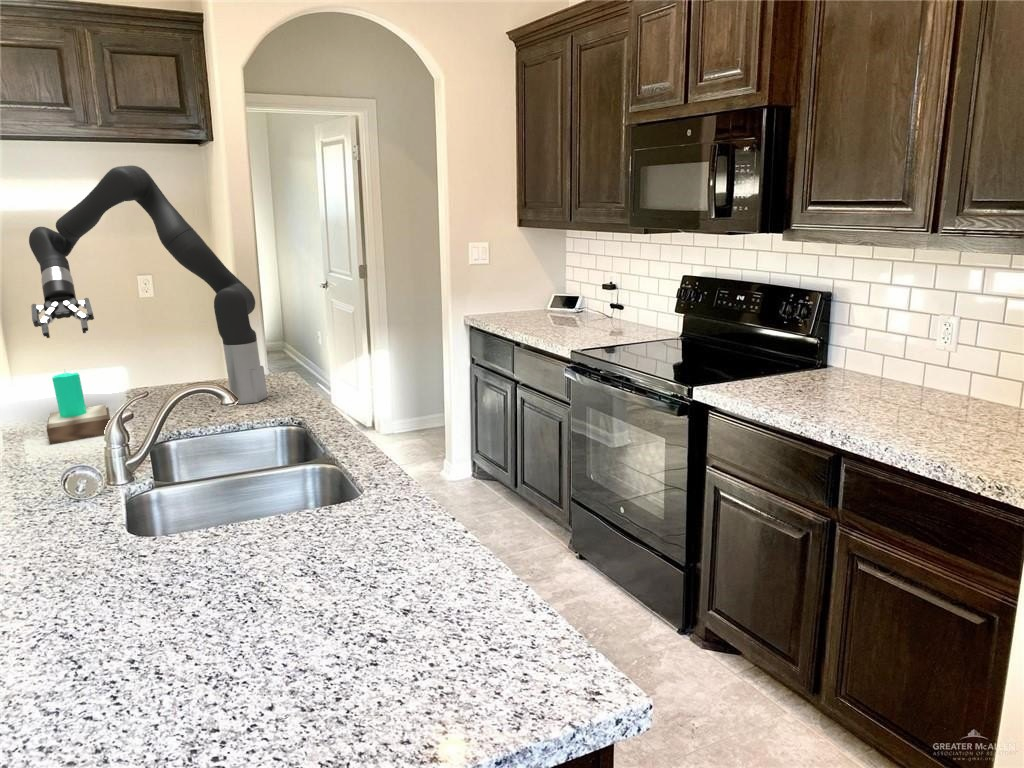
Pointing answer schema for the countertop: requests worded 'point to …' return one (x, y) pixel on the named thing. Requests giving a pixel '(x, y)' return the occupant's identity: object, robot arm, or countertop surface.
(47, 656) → the countertop surface
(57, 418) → the plinth
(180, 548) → the countertop surface
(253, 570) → the countertop surface
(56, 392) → the candle
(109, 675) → the countertop surface
